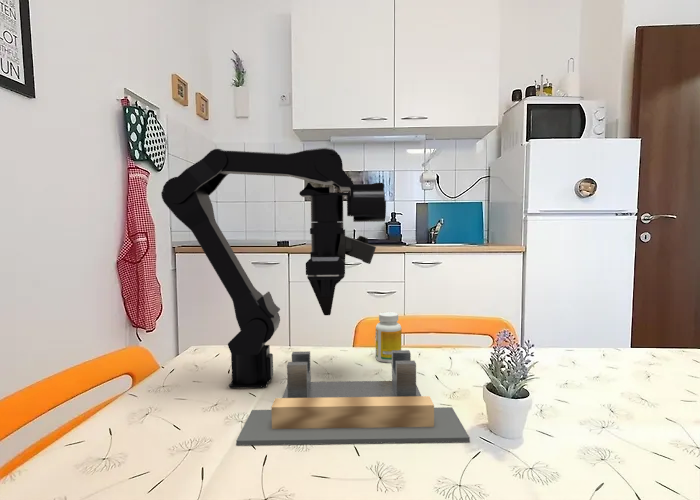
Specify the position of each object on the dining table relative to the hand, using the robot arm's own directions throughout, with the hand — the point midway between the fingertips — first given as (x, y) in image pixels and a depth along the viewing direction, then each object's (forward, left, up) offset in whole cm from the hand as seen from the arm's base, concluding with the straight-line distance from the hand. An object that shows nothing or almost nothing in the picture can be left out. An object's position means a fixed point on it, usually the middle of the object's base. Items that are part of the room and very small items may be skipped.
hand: (328, 309), depth 75 cm
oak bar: (+4, -18, -12) cm, 22 cm away
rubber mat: (+4, -18, -13) cm, 22 cm away
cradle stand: (+4, -7, -13) cm, 15 cm away
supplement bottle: (+12, +12, -13) cm, 21 cm away
